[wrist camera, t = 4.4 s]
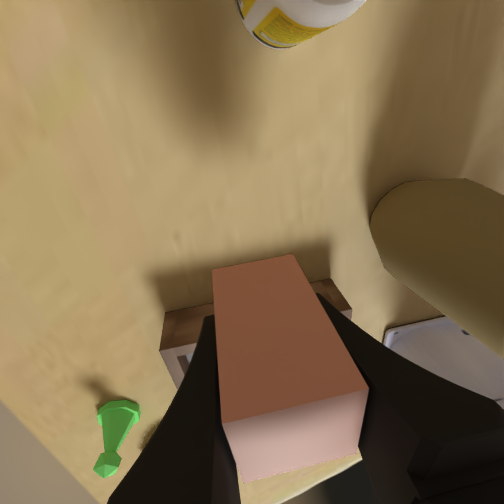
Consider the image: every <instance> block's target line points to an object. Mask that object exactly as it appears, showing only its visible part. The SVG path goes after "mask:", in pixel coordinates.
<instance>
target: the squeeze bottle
mask: <svg viewBox="0 0 504 504" xmlns="http://www.w3.org/2000/svg"><path fill="white" fill-rule="evenodd" d="M370 230H371V234H372V238H373V240H374V243H375V245H376V248H377V250H378V253H379V255H380V258H381V260H382V263H383V265H384V268H385V269H386V270H387V271H388V272H389V273H391V274H392V275H393V276H394V277H395V278H396V279H397V280H399V281H400V282H401V283H403V284H404V285H405V286H407V287H408V288H409V289H411V290H412V291H413V292H415V293H416V294H417V295H419V296H420V297H421V298H423V299H424V300H425V301H427V302H428V303H429V304H431V305H432V306H433V307H435V308H436V309H437V310H439V311H440V312H441V313H443V314H444V315H445V316H447V317H448V318H449V319H451V320H452V321H453V322H455V323H456V324H457V325H459V326H460V327H461V328H462V329H464V330H465V331H466V332H468V333H469V334H470V335H472V336H473V337H474V338H476V339H477V340H478V341H480V342H481V343H482V344H484V345H485V346H486V347H488V348H489V349H490V350H492V351H493V352H494V353H496V354H497V355H498V356H500V357H501V358H502V359H504V195H502V194H499V193H497V192H495V191H493V190H491V189H489V188H487V187H485V186H483V185H480V184H478V183H475V182H473V181H470V180H468V179H465V178H464V179H440V180H419V181H410V182H405V183H403V184H401V185H399V186H397V187H395V188H393V189H392V190H390V191H389V192H388V193H387V194H386V195H385V196H384V197H383V198H382V199H381V200H380V201H379V203H378V205H377V206H376V208H375V210H374V212H373V213H372V217H371V223H370Z"/></svg>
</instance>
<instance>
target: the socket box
mask: <svg viewBox="0 0 504 504" xmlns="http://www.w3.org/2000/svg"><path fill="white" fill-rule="evenodd" d="M309 284H310V285H311V287H312V289H313V291H314V292H315V293H320V294H321V295H322V296H323V297H324V298H325V299H326V300H327V301H329V302H330V303H331V304H332V305H333V306H334V307H335V308H336V309H338V310H339V311H340V312H341V313H342V314H343V315H345V316H346V317H347V318H348V319H349V320H351V317H352V308H351V307H350V305H349V304H348V302H347V301H346V299H345V298H344V297H343V295H342V294H341V292H340V291H339V289H338V288H337V287H336V285H335V284H334V282H333V281H332V279H327V280H323V281H318V282H313V283H309ZM214 314H215V312H214V303H211V304H206V305H201V306H196V307H191V308H187V309H182V310H177V311H172V312H167V313H165V317H164V323H163V330H162V336H161V342H160V349H159V352H160V354H161V356H162V358H163V360H164V362H165V364H166V366H167V369H168V371H169V373H170V375H171V377H172V379H173V381H174V383H175V385H176V388H177V390H178V389H179V387H180V384H181V382H182V380H183V378H184V376H185V373H186V371H187V368H188V366H189V364H190V361H191V358H192V356H193V353H194V350H195V347H196V344H197V341H198V338H199V335H200V331H201V327H202V323H203V318H204V317H205V316H209V315H214Z"/></svg>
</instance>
